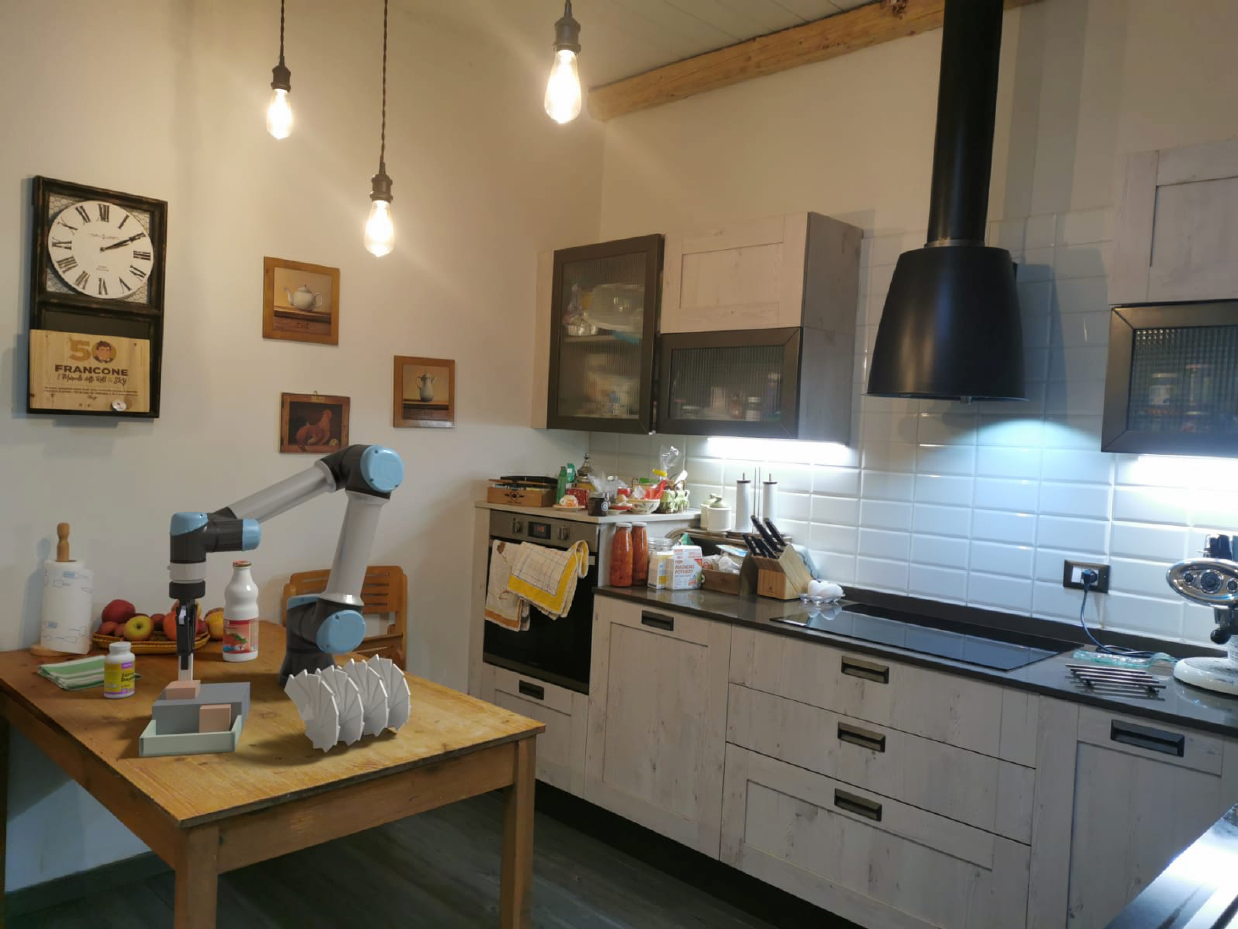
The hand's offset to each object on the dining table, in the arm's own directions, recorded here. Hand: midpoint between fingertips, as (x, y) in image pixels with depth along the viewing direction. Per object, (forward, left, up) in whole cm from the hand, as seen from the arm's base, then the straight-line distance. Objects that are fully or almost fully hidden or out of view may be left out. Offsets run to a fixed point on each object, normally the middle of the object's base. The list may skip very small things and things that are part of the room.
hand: (185, 682), depth 206 cm
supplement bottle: (+19, -23, -9) cm, 31 cm away
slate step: (-4, +3, -9) cm, 10 cm away
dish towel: (+31, -42, -10) cm, 53 cm away
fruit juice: (-5, -55, -9) cm, 56 cm away
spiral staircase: (-37, +19, -9) cm, 43 cm away
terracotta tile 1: (-8, +11, -5) cm, 15 cm away
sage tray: (-4, +17, -9) cm, 19 cm away
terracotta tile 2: (0, +4, -2) cm, 4 cm away
